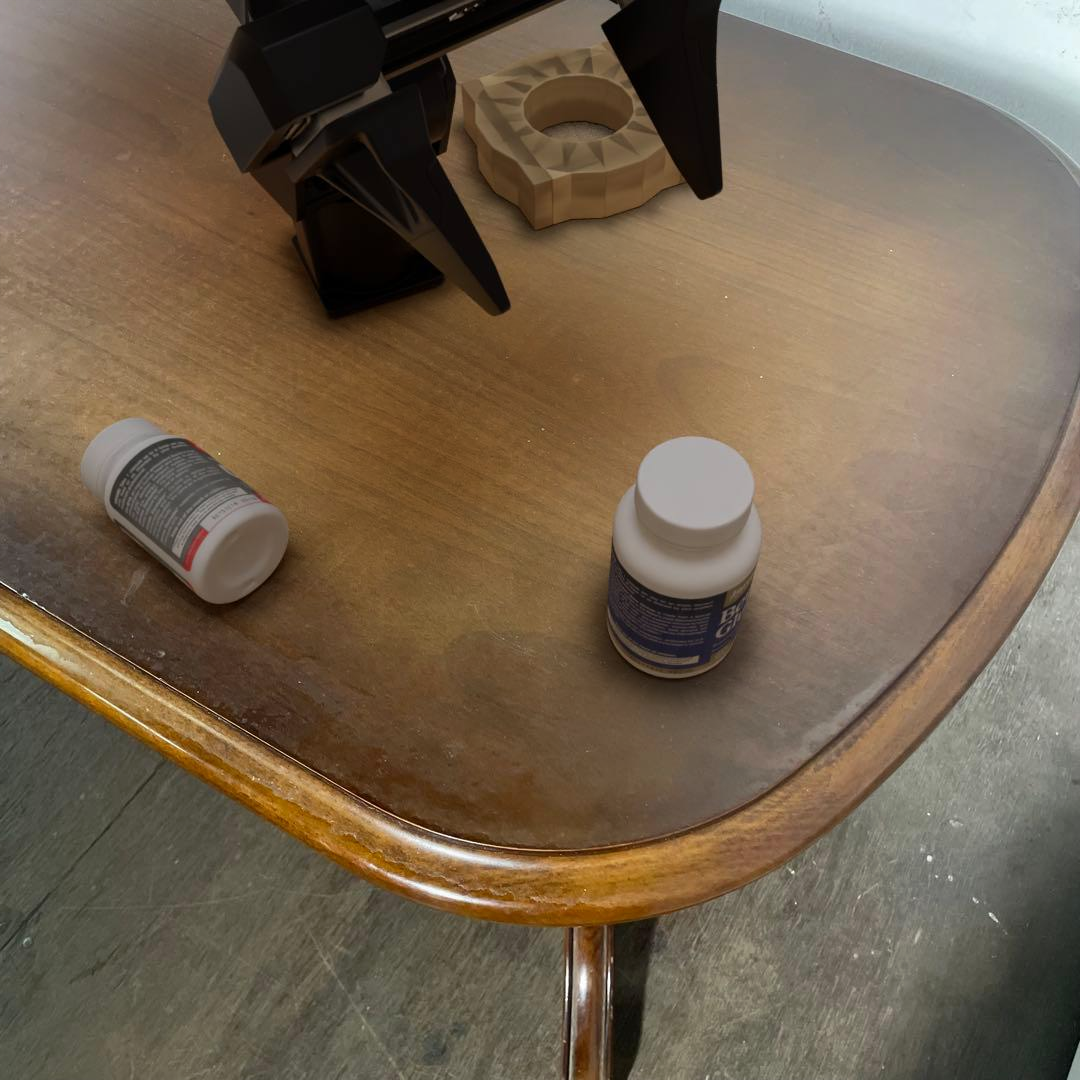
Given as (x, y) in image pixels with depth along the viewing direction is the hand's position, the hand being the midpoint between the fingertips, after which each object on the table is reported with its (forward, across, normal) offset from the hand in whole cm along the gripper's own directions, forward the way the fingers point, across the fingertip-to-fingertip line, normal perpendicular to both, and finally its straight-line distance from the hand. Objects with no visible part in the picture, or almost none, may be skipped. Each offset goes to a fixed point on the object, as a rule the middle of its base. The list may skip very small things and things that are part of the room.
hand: (611, 252), depth 36 cm
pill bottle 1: (+5, -14, +12) cm, 19 cm away
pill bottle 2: (+15, -2, +5) cm, 16 cm away
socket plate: (-4, +14, +24) cm, 28 cm away
